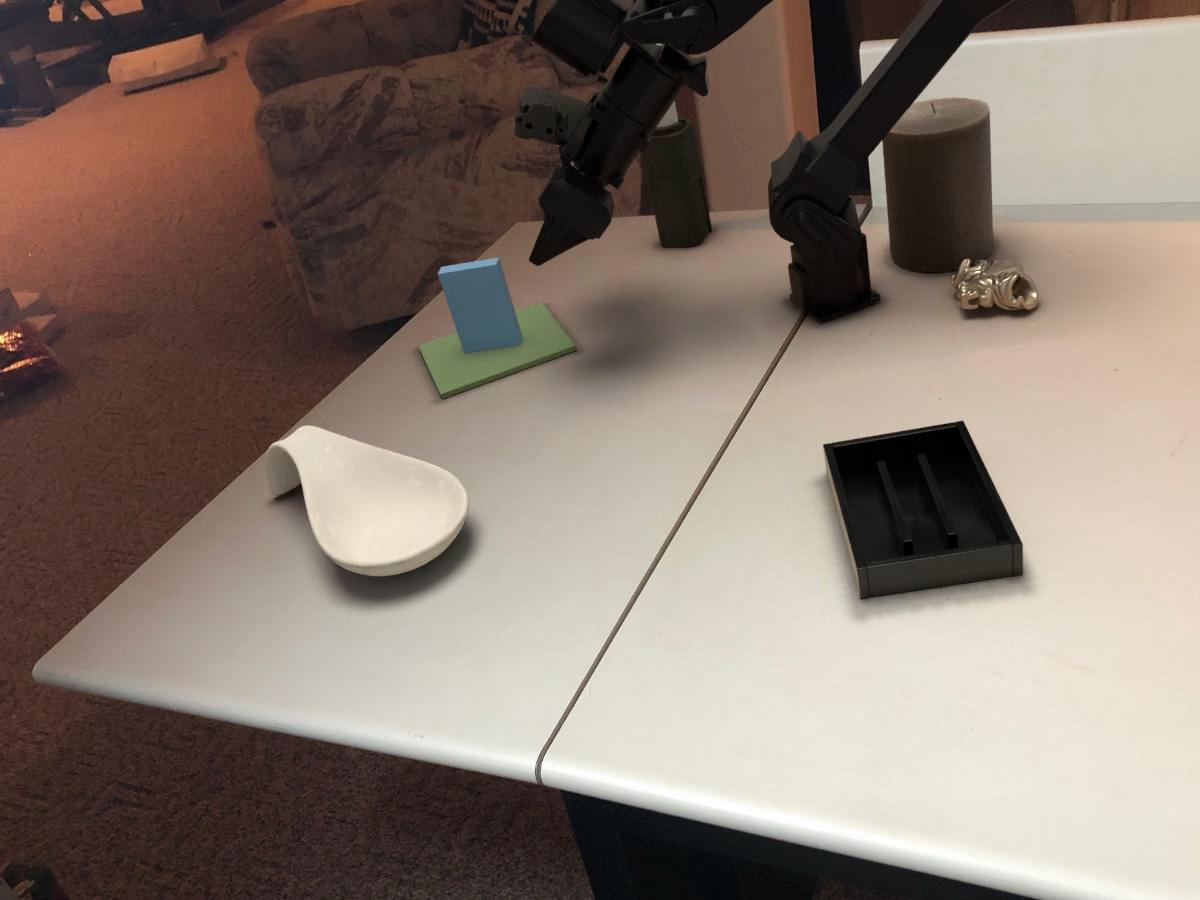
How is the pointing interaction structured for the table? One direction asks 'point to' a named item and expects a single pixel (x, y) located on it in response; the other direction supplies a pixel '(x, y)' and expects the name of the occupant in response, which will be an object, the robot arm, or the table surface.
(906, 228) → the pillar candle
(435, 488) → the spoon rest
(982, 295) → the ornament
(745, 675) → the table surface
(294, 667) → the table surface
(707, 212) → the candle
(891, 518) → the dish rack
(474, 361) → the mat
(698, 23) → the robot arm
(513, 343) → the blue rectangular block
